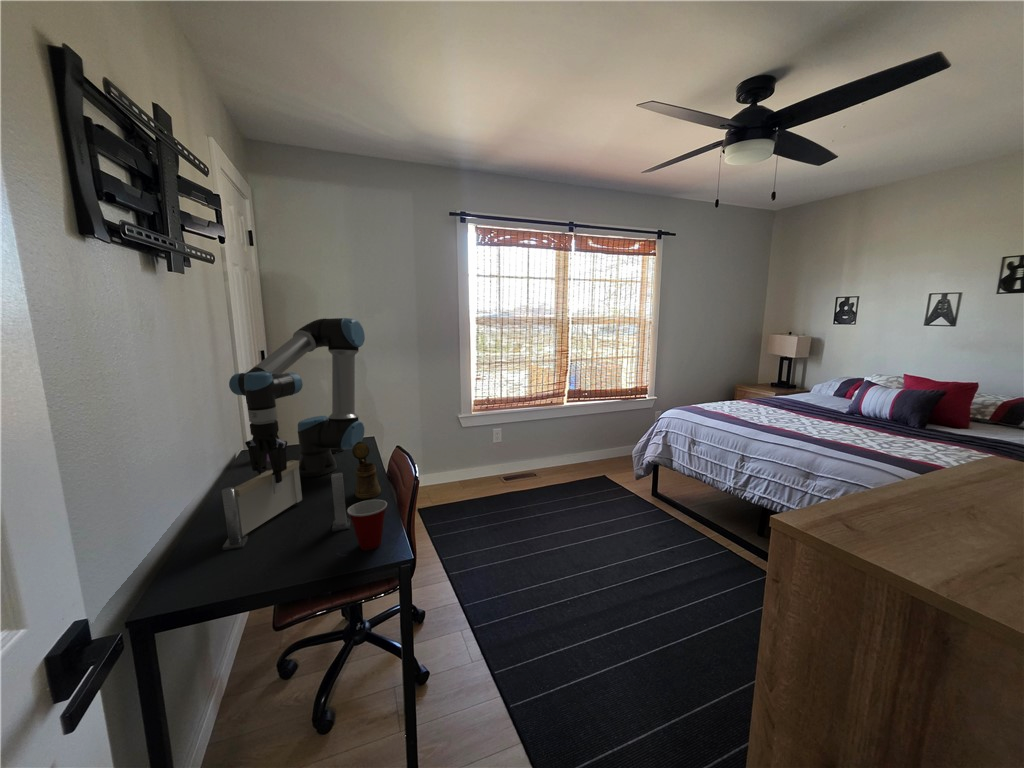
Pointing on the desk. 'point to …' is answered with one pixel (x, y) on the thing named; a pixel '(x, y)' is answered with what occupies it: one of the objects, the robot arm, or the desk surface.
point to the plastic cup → (368, 522)
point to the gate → (266, 497)
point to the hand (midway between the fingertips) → (272, 491)
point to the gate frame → (239, 541)
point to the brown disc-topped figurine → (365, 473)
